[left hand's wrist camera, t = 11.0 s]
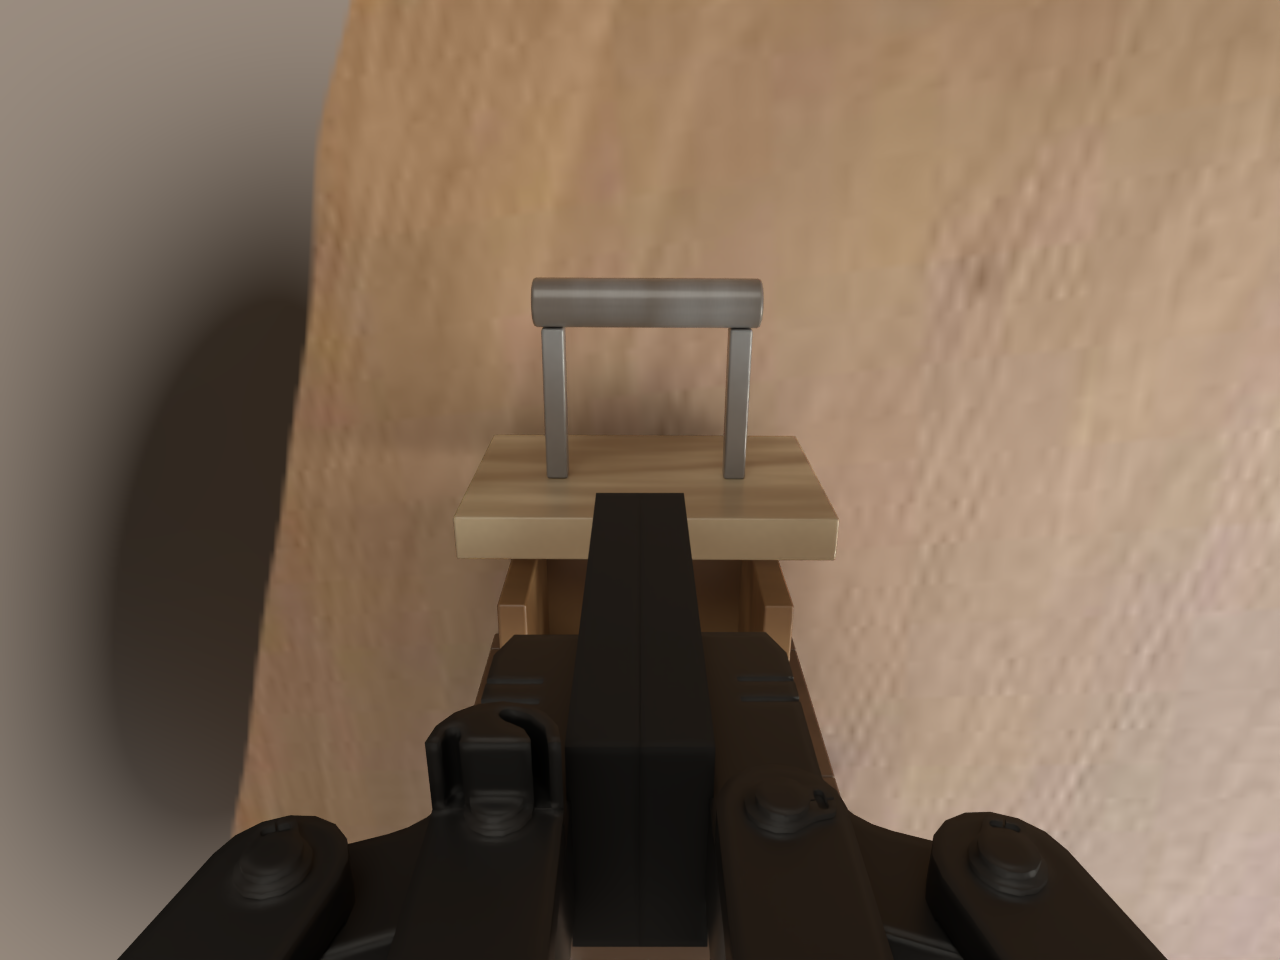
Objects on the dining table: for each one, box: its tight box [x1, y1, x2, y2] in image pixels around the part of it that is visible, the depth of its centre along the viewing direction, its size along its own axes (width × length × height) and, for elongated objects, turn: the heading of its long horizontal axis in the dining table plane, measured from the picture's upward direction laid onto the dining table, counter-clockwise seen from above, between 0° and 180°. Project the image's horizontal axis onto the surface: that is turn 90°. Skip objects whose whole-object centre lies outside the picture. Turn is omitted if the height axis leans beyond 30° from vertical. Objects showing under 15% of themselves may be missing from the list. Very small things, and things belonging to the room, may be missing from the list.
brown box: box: [475, 634, 840, 960], centre depth 31 cm, size 17×11×9 cm, turn 0°
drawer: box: [453, 278, 839, 661], centre depth 27 cm, size 21×10×7 cm, turn 0°
